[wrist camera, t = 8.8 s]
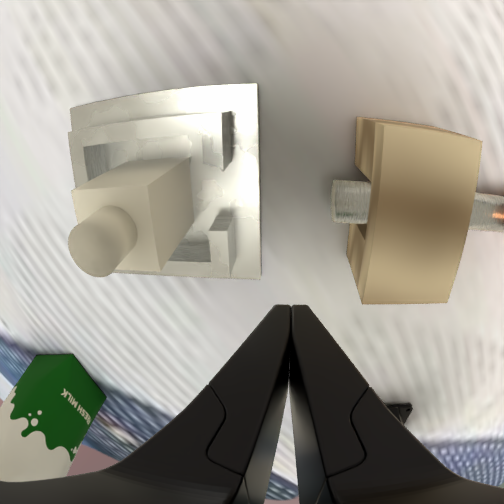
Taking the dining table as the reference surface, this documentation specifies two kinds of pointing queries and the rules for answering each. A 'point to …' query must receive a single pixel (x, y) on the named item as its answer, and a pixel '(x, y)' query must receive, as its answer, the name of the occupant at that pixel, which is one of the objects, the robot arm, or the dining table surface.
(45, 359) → the milk carton
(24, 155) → the dining table surface
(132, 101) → the socket
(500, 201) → the pin
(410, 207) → the mount
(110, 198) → the spigot
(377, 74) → the dining table surface
